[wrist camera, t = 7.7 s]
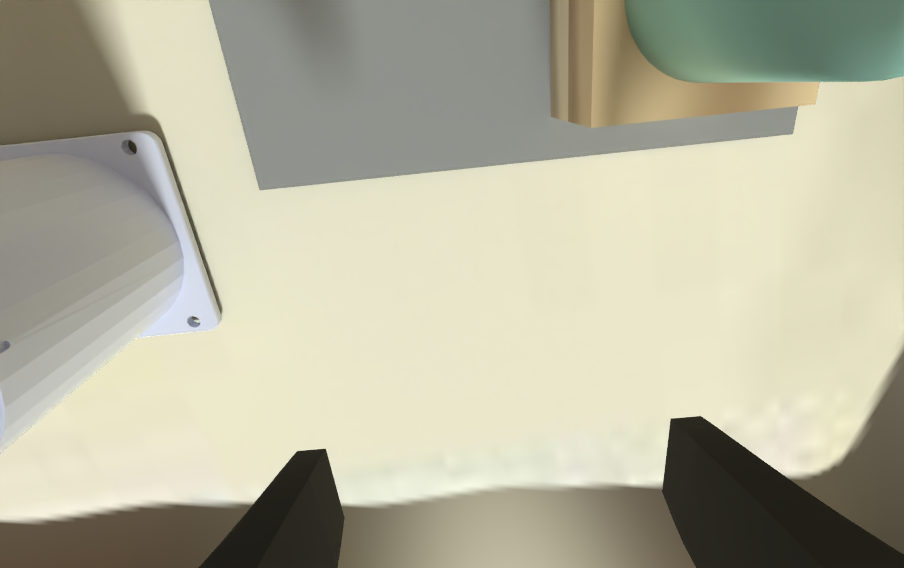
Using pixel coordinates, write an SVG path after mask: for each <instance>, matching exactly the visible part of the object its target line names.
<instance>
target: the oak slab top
mask: <svg viewBox="0 0 904 568" xmlns="http://www.w3.org/2000/svg"><path fill="white" fill-rule="evenodd" d="M819 83H820V82H739V83H695V82H686V81H682V80H677V79H675V78H672V77H670V76H667V75H666V74H664V73H662V72H661V71H659V70H658V69H656V68H655V67H654V66H653V65H652V64H651V63H649V62H648V60H647V59H646V58H645V57H644V56H643V54H642V53H641V52H640V50H639V48H638V47H637V45H636V44H635V41H634V39H633V37H632V34H631V32H630V29H629V25H628V22H627V17H626V11H625V0H569V32H568V122H571V123H575V124H578V125H582V126H586V127H589V128H595V127H605V126H614V125H624V124H633V123H643V122H652V121H662V120H671V119H681V118H690V117H700V116H709V115H719V114H728V113H737V112H747V111H756V110H766V109H775V108H785V107H794V106H804V105H813V104H815V103H816V98H817V93H818V88H819Z"/></svg>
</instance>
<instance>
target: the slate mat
mask: <svg viewBox="0 0 904 568" xmlns="http://www.w3.org/2000/svg"><path fill="white" fill-rule="evenodd" d="M209 3H210V7H211V10H212V14H213V18H214V22H215V25H216V29H217V33H218V37H219V40H220V44H221V48H222V51H223V55H224V59H225V63H226V66H227V70H228V74H229V78H230V81H231V85H232V89H233V92H234V96H235V100H236V104H237V107H238V111H239V115H240V118H241V122H242V126H243V130H244V133H245V137H246V141H247V145H248V148H249V152H250V156H251V159H252V163H253V167H254V171H255V174H256V178H257V182H258V186H259V189H260V190H267V189H276V188H286V187H295V186H305V185H314V184H324V183H333V182H343V181H352V180H362V179H371V178H381V177H390V176H400V175H409V174H419V173H428V172H438V171H447V170H456V169H466V168H475V167H485V166H494V165H504V164H513V163H523V162H532V161H542V160H551V159H561V158H570V157H580V156H589V155H599V154H608V153H618V152H627V151H637V150H646V149H655V148H665V147H674V146H684V145H693V144H703V143H712V142H722V141H731V140H741V139H750V138H760V137H769V136H779V135H788V134H793V130H794V125H795V120H796V115H797V110H798V106H794V107H785V108H775V109H766V110H756V111H747V112H737V113H728V114H719V115H709V116H700V117H690V118H681V119H671V120H662V121H652V122H643V123H633V124H624V125H614V126H605V127H595V128H589V127H586V126H582V125H578V124H575V123H571V122H567V121H564V120H560V119H557V118H553V117H551V66H550V0H209Z"/></svg>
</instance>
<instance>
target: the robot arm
mask: <svg viewBox="0 0 904 568" xmlns="http://www.w3.org/2000/svg"><path fill="white" fill-rule="evenodd" d="M129 140H131V141H132V142H134V143H135V145H136V147H137V152H136V153H134V152H132V151H131V150H130V149H129V147H128V142H129ZM192 316H194V317H197V318H198V319H199V320H200V323H197V322H195V321H194V320H193V319H192ZM221 320H222V318H221V314H220V311H219V308H218V305H217V302H216V299H215V296H214V293H213V290H212V287H211V284H210V281H209V278H208V275H207V272H206V269H205V266H204V264H203V261H202V258H201V255H200V252H199V249H198V246H197V243H196V240H195V237H194V234H193V231H192V228H191V225H190V222H189V219H188V217H187V214H186V211H185V208H184V205H183V202H182V199H181V196H180V193H179V190H178V187H177V184H176V181H175V178H174V175H173V172H172V170H171V167H170V164H169V161H168V158H167V155H166V152H165V149H164V146H163V143H162V141H161V140H160V138H159V137H158V136H157V135H156V134H155V133H153V132H151V131H146V130H142V131H133V132H123V133H114V134H104V135H95V136H86V137H76V138H67V139H58V140H48V141H39V142H29V143H20V144H11V145H1V146H0V453H1V452H3V451H4V450H5V449H6V448H7V447H8V446H10V445H11V444H12V443H13V442H14V441H16V440H17V439H18V438H19V437H20V436H21V435H23V434H24V433H25V432H26V431H27V430H29V429H30V428H31V427H32V426H33V425H34V424H36V423H37V422H38V421H39V420H40V419H41V418H43V417H44V416H45V415H46V414H47V413H49V412H50V411H51V410H52V409H53V408H54V407H56V406H57V405H58V404H59V403H60V402H62V401H63V400H64V399H65V398H66V397H67V396H69V395H70V394H71V393H72V392H73V391H75V390H76V389H77V388H78V387H79V386H80V385H82V384H83V383H84V382H85V381H86V380H87V379H89V378H90V377H91V376H92V375H93V374H95V373H96V372H97V371H98V370H99V369H100V368H102V367H103V366H104V365H105V364H106V363H108V362H109V361H110V360H111V359H112V358H113V357H115V356H116V355H117V354H118V353H119V352H121V351H122V350H123V349H124V348H125V347H126V346H128V345H129V344H130V343H131V342H132V341H134V340H135V339H136V338H143V337H152V336H162V335H172V334H181V333H191V332H201V331H210V330H213V329H215V328H216V327H217V326H218V325H219V324H220V323H221ZM662 492H663V495H664V497H665V500H666V502H667V505H668V507H669V510H670V513H671V515H672V518H673V520H674V523H675V525H676V527H677V529H678V532H679V534H680V537H681V539H682V541H683V544H684V545H685V547H686V549H687V551H688V553H689V555H690V557H691V559H692V561H693V562H694V564H695V566H696V568H904V554H902V553H900V552H899V551H897V550H895V549H894V548H892V547H891V546H889V545H887V544H886V543H884V542H883V541H881V540H880V539H878V538H876V537H875V536H873V535H872V534H870V533H869V532H867V531H865V530H864V529H862V528H861V527H859V526H858V525H856V524H854V523H853V522H851V521H850V520H848V519H847V518H845V517H844V516H842V515H841V514H839V513H838V512H836V511H835V510H833V509H832V508H830V507H829V506H827V505H826V504H824V503H823V502H821V501H820V500H818V499H817V498H815V497H814V496H812V495H811V494H810V493H808V492H806V491H805V490H804V489H802V488H801V487H799V486H798V485H797V484H795V483H794V482H792V481H791V480H789V479H788V478H786V477H785V476H784V475H782V474H781V473H779V472H778V471H777V470H775V469H774V468H772V467H771V466H770V465H768V464H767V463H765V462H764V461H763V460H761V459H760V458H759V457H757V456H756V455H754V454H753V453H752V452H750V451H749V450H747V449H746V448H745V447H743V446H742V445H741V444H739V443H738V442H736V441H735V440H734V439H732V438H731V437H729V436H728V435H727V434H725V433H724V432H723V431H721V430H720V429H718V428H717V427H716V426H714V425H713V424H711V423H710V422H708V421H707V420H706V419H704V418H703V417H701V416H698V417H686V418H675V419H671V422H670V430H669V439H668V447H667V456H666V464H665V473H664V481H663V490H662ZM343 524H344V515H343V511H342V507H341V504H340V500H339V496H338V493H337V489H336V485H335V481H334V478H333V474H332V470H331V467H330V463H329V459H328V456H327V452H326V449H318V450H306V451H297V452H296V453H295V454H294V456H293V457H292V458H291V459H290V460H289V462H288V463H287V464H286V465H285V466H284V467H283V469H282V470H281V471H280V472H279V474H278V475H277V476H276V477H275V478H274V480H273V481H272V482H271V483H270V485H269V486H268V487H267V488H266V490H265V491H264V492H263V493H262V494H261V496H260V497H259V498H258V499H257V501H256V502H255V503H254V504H253V505H252V507H251V508H250V509H249V510H248V511H247V513H246V514H245V515H244V516H243V517H242V519H241V520H240V521H239V522H238V523H237V524H236V526H235V527H234V528H233V529H232V530H231V531H230V533H229V534H228V535H227V536H226V537H225V538H224V540H223V541H222V542H221V543H220V545H218V547H217V548H216V549H215V550H214V551H213V552H212V553H211V555H210V556H209V557H208V558H207V559H206V560H205V561H204V562H203V563H202V564H201V566H200V567H199V568H337V567H338V560H339V554H340V547H341V540H342V532H343Z"/></svg>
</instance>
